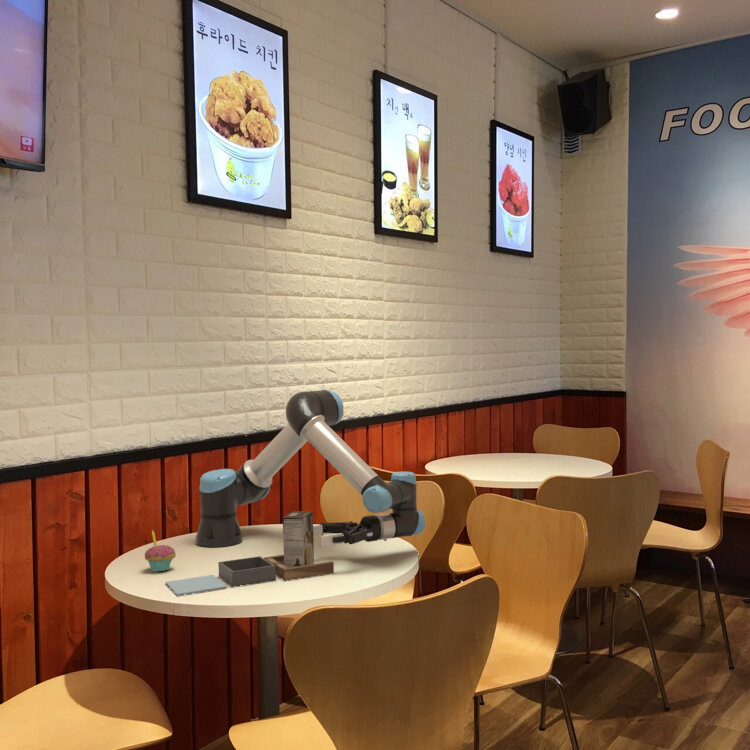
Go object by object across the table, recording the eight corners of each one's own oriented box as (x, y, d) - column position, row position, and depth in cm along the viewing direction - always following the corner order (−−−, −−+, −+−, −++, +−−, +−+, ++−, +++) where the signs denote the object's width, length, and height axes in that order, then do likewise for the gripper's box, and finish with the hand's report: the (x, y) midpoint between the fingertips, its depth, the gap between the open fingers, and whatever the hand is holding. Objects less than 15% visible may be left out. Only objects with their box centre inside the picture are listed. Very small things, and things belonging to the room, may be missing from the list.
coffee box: (293, 565, 229) (292, 510, 229) (314, 566, 228) (313, 511, 228) (283, 574, 220) (282, 517, 220) (305, 575, 219) (304, 517, 219)
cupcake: (147, 575, 222) (145, 533, 222) (143, 568, 230) (142, 527, 229) (178, 571, 225) (177, 529, 225) (173, 564, 233) (172, 524, 233)
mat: (165, 584, 213) (165, 581, 213) (212, 577, 219) (212, 574, 219) (177, 596, 201) (177, 594, 201) (227, 588, 207) (226, 586, 207)
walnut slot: (264, 567, 228) (263, 557, 228) (310, 560, 234) (310, 550, 234) (284, 581, 213) (284, 570, 213) (333, 573, 220) (333, 562, 220)
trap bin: (218, 576, 219) (218, 562, 219) (260, 570, 225) (260, 556, 225) (232, 587, 208) (232, 572, 208) (275, 580, 214) (275, 565, 214)
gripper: (397, 548, 224) (330, 558, 214) (357, 532, 246) (294, 541, 236) (397, 522, 224) (329, 531, 214) (357, 508, 246) (293, 516, 236)
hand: (311, 536), depth 225 cm, fingers open, 13 cm apart
